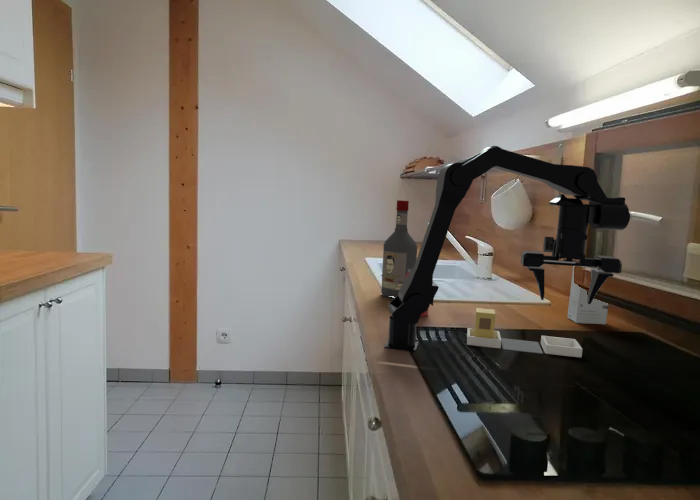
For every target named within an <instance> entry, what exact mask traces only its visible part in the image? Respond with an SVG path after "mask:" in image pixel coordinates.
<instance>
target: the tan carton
mask: <svg viewBox="0 0 700 500" xmlns="http://www.w3.org/2000/svg"><path fill="white" fill-rule="evenodd" d="M474 317H475V319H474V337H483V338H493V339H494V331H495V326H496V325H495V324H496V311H495V309H491V308H490V309H489V308H481V307H476V308H475V316H474Z"/></svg>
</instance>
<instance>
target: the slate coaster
mask: <svg viewBox="0 0 700 500" xmlns="http://www.w3.org/2000/svg"><path fill="white" fill-rule="evenodd" d="M501 347H502V350H504V351H505V350H506V351H513V352H523V353H531V354H540V355H544V351H543V350H542V349H543V348H541V347H542V346H541V344H540V343H539V341H532V340H531V341H530V340H523V339H513V338H504V337H501Z"/></svg>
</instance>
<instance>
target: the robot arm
mask: <svg viewBox="0 0 700 500" xmlns="http://www.w3.org/2000/svg"><path fill="white" fill-rule="evenodd" d="M493 168H494V169H498V170H501V171H504V172H507V173H511V174H515V175H518V176H522V177H525V178H529V179H531V180H535V181H540V182H542V183H544V184H546V185H547V186H548V187H550V188H552V189H554V190H556V191H558V192H559V193H560V194H559V193H558V194H557V195H556V196H555V198H553V199H552V200H550V201H549V203H548V204H549V206H559V209H558V216H557V217H558V218H557V229H556V230H557V231H556V236H555V237H554V236H544V237H543V244H542V245H543V247H542V249H543V252H544V253H551V255H545V254H544V253H543V252H542V251H538V250H537V251H536V250H522V252H521V253H520V264H521V265H522V266H524V267H526V268H527V270H528V271H530V272H532V273H533V275H534V277H535V281H536V284H537V288H538V293H539V298H540V300H542V301H544V300H545V299H544V298H545V268H543V266H544V265H554V266H555V265H556V266H565V267H566V266H570V267H573V266H581V267H595V269H591V282H590V287H589V292H588V298H587V303H588V304H591V302H592V300H593V299H594V297H595V295H596V294H597V292H598V290H599V289H600V287H601V286H602V285H603V283H604V282H605V281H606V279H607V278H608V277H612V278H614V275H615V274H621V273H622V267H623V263H622V260H620V259H619V258H618V257H615V256H612V255H611V256H610V255H599V254H597V255H595V256H594V258H587V257H586V256H587V255H586V248H587V241H588V237H589V236H588V228H589V225H590V227H591V228H592V229H594V230H609V231H610V230H611V231H612V230H613V231H623V230H625V229H626V228H627V227H628V225H629V223H630V219H631V213H630V210H629V206H628V205H627V204H626V197H624V196H623V197H622V196H621V197H620V196H612V197H607V196H606V195H607V194H606V193H605V192H604V190H603V189H602V187H601V186H600V185H601V184H600V183H599V182H598V175H597V174H596V170H594V169H593V168H591V167H589V166H584V165H583V166H581V165H574V164H573V165H570V164H559V163H552V162H548V161H545V160H541V159H538V158H534V157H532V156H528V155H525V154H520V153H518V152H514V151H510V150H508V149H503V148H501V147H500V146H498V145H492V146H489V147H486V148H484V149H482V150H481V151H480V152H479V153H476V154H475V155H473V156H471V157H468V158H467V159H465V160H463V161H461V162H454V163H449V164H447V165H444V166H443V167H442V168H441V169H440V170H439V172H438V175H437V180H436V188H435V202H434V207H433V210H432V213H431V216H430V219H429V222H428V225H427V228H426V230H425V232H424V233H425V234H424V237H423V240H422V243H421V246H420V248H419V251H418V253H417V260H416V263H415V265H414V267H413V269H412V270H411V272H410V273H409V274H408V276H407V277H406V279H405V281H404V283H403V284H402V286H401V288H400V290H399V294H398V295H397V296H396V297H395V298H394V299H393V298H392V299H391V300H390V301H389V302H388V304H387V306H388V310H389V313H390V316H389V319H388V321H389V322H388V323H389V324H388V325H389V326H388V339H387V341H386V343H385V344H384V349H388V350H389V349H390V350H399V351H405V352H416V350H417V348H418V345H419V341H418V340H416V339H417V337H416V336H417V324H418V323H419V321H420V319H421V317H420V316H421V314H422V313H424V312H426V311H427V310H428V311H429V308H430V305H431V306H434V298H435V297H436V294H437V293H438V290H439V288H440V287H439V286H438V284H436V283H435V281H434V280H433V278H434V272H435V269H436V266H437V263H438V260H439V258H440V255H441V252H442V249H443V246H444V243H445V240H446V238H447V234H448V232H449V229H450V225H451V223H452V220H453V218H454V217H453V216H454V215H455V212H456V210H457V208H458V206H459V205H460V204H461V202H462V201H463V199H464V198H465V197H466V196H467V193H468V191H469V190H470V188H471V186H472V184H473V182H474V180H476V179H477V178H479V177H481V176H483V175H485V174H486V173H487V172H489V171H490V170H492V169H493ZM566 195H567V196H572V197H567V196H566ZM583 201H588V203H583Z"/></svg>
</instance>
